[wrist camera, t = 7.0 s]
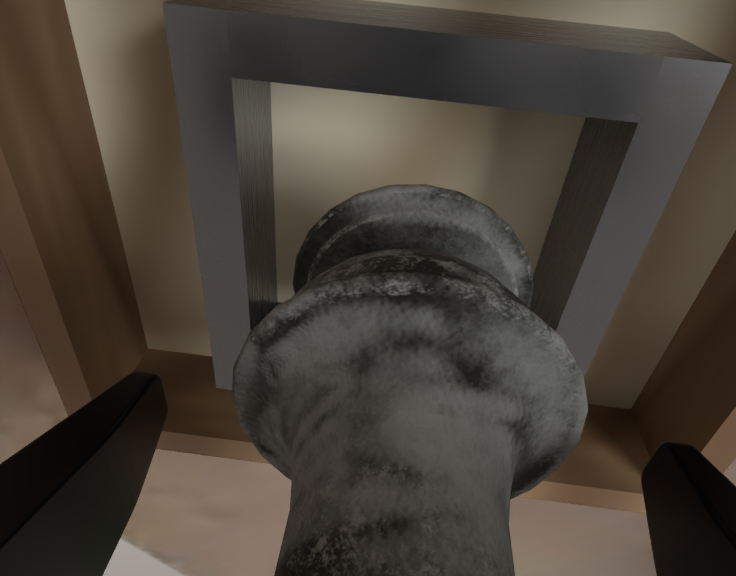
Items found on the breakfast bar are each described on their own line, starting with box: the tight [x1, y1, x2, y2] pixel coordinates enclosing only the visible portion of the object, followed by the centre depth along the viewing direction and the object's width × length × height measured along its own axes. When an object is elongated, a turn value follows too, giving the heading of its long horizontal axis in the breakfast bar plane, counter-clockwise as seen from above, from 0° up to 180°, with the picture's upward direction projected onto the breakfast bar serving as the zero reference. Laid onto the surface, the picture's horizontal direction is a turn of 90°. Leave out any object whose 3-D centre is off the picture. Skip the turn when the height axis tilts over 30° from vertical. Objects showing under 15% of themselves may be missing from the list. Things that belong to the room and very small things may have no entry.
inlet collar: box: [162, 0, 732, 390], centre depth 14 cm, size 10×10×3 cm
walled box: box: [0, 0, 736, 513], centre depth 14 cm, size 20×16×4 cm
